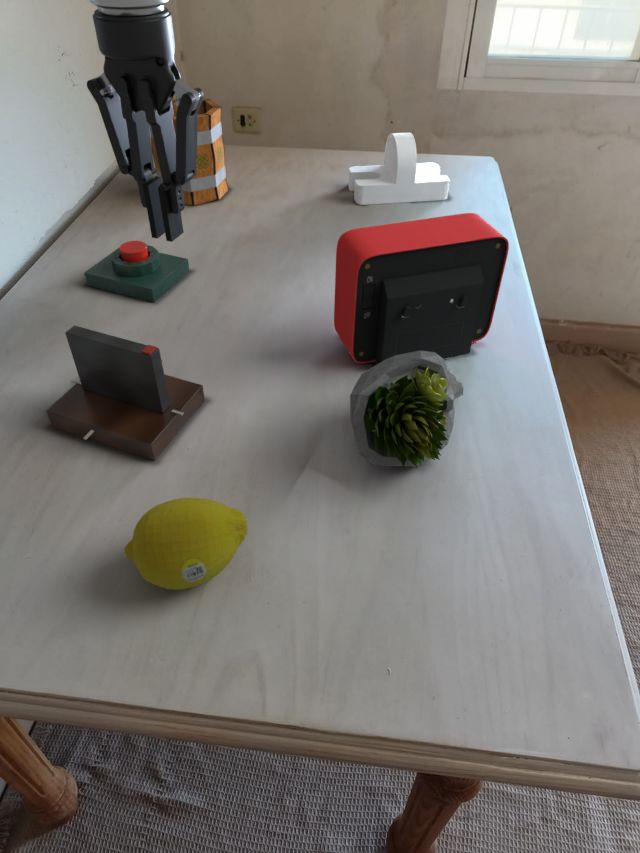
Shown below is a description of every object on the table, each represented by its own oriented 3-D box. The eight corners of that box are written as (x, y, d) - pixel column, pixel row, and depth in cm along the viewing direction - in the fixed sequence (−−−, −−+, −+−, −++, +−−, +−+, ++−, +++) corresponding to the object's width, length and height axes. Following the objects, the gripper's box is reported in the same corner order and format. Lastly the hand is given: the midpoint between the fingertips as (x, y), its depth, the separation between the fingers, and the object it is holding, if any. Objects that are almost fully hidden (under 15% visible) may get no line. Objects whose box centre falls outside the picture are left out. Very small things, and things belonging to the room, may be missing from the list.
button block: (87, 285, 96) (80, 261, 93) (125, 256, 102) (121, 233, 100) (154, 302, 92) (149, 278, 90) (189, 271, 99) (186, 248, 96)
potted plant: (466, 384, 74) (516, 445, 61) (384, 452, 77) (414, 524, 64) (403, 312, 69) (442, 362, 56) (318, 388, 72) (335, 452, 59)
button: (116, 260, 94) (113, 249, 93) (131, 249, 97) (129, 238, 96) (138, 265, 93) (136, 255, 92) (153, 254, 96) (151, 243, 95)
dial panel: (35, 437, 71) (27, 419, 70) (115, 362, 82) (110, 345, 80) (148, 475, 67) (144, 458, 65) (218, 392, 78) (215, 375, 76)
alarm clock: (495, 350, 85) (522, 242, 74) (356, 378, 80) (364, 266, 69) (461, 313, 91) (481, 208, 81) (332, 337, 87) (335, 229, 76)
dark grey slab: (82, 389, 74) (64, 330, 68) (91, 381, 75) (73, 323, 69) (162, 413, 71) (150, 354, 65) (170, 405, 72) (159, 346, 66)
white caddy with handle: (448, 199, 121) (457, 141, 113) (357, 205, 118) (360, 145, 111) (434, 180, 127) (441, 124, 120) (347, 184, 125) (349, 127, 118)
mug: (229, 203, 118) (222, 118, 108) (156, 207, 116) (141, 121, 106) (226, 164, 132) (220, 86, 122) (161, 167, 131) (149, 88, 120)
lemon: (129, 610, 55) (109, 557, 50) (138, 539, 61) (121, 484, 56) (251, 600, 56) (246, 546, 51) (249, 530, 62) (244, 475, 57)
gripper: (45, 7, 60) (100, 236, 76) (174, 21, 56) (203, 260, 73) (93, -5, 65) (135, 212, 82) (215, 7, 62) (234, 233, 78)
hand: (167, 234), depth 77 cm, fingers closed
